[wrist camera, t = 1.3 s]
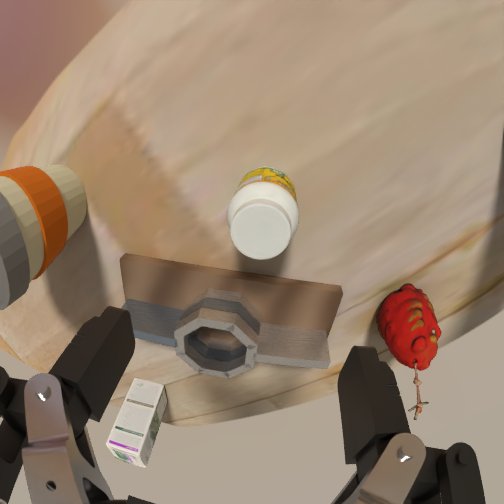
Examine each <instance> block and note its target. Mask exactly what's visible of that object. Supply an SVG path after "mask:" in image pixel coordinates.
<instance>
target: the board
mask: <svg viewBox="0 0 504 504" xmlns="http://www.w3.org/2000/svg"><path fill="white" fill-rule="evenodd" d="M120 267H121V274H122V281H123V288H124V295H125V301H127V299H128V298H130V299H134V300H139V301H143V302H148V303H153V304H157V305H162V306H167V307H172V308H177V309H183V310H184V309H185V307H186V304H187V302H189V301H191V300H192V299H194V298H195V297H197V296H198V295H200V294H201V293H203V292H204V291H206V290H207V289H209V288H210V289H216V290H222V291H228V292H235V293H241V294H242V295H243V296H244V297H245V298H246V299H247V300H248V301H249V302H250V303H251V304H252V305H253V306H254V307H255V308H256V310H257V311H258V312H259V313H260V314H261V323H268V324H275V325H283V326H291V327H299V328H307V329H316V330H326V334H327V338H328V335H329V332H330V330H331V327H332V324H333V321H334V319H335V316H336V313H337V310H338V307H339V304H340V301H341V298H342V295H343V292H342V288H341V286H338V285H330V284H323V283H315V282H308V281H300V280H293V279H286V278H279V277H272V276H265V275H258V274H251V273H245V272H238V271H231V270H225V269H218V268H212V267H205V266H199V265H193V264H186V263H180V262H174V261H168V260H162V259H156V258H150V257H144V256H138V255H132V254H126V253H125V254H124V255H123V256H122V257H121V258H120ZM199 328H200V329H201V330H202V331H204V332H205V333H206V334H207V335H208V336H209V337H210V338H212V339H218V340H224V341H230V342H233V341H235V340H237V339H238V338H236V337H235V336H234V335H233V334H232V333H231V332H230V331H227V330H221V329H215V328H209V327H204V326H201V327H199Z"/></svg>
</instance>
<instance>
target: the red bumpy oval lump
mask: <svg viewBox="0 0 504 504" xmlns="http://www.w3.org/2000/svg"><path fill="white" fill-rule="evenodd" d="M377 324H378V330H379V333H380V335H381V337H382V338H383V339H384V340H385V342H386V344H387V346H388V348H389V350H390V352H391V353H392V354H393V355H394V357H395V358H396V360H397V361H398V362H400V363H401V364H403V365H405V366H408V367H410V368H414V369H415V376H416V377H415V378H414V381H413V382H414V384H416V385H417V405H416V406H414V407H413V408H411V409H410V410H408V411H412V410H413V409H414V408H416V413H415V417H414V420H416V419H417V415H418V413H421V411H422V405H423V404H428V402H423V403H422V402H421V400H420V394H419V385H420V384H421V381H420V380H418V375H417V369H418V370H420V371H421V370H424V369H426V368H428V367H429V365H430V362H431V360H432V359H433V358H434V357H435V356H436V354H437V349H438V345H437V340H438V338H439V337H440V335H441V330H440V328H439V326H438V325H437V319H436V317H435V314H434V309H433V306H432V304H431V302H430V301H429V299H428V297H427V295H426V294H424V293H423V292H422V290H421V289H416V288H415V287H414V286H413V285H412V284H404V285H403V286H402V288H401V290H400V291H394V292H392V293H391V294H390V295H389V296H388V297H387V298H386V299H385V300H384V302H383V304H382V306H381V309H380V313H379V314H378V316H377Z"/></svg>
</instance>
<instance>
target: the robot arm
mask: <svg viewBox="0 0 504 504" xmlns="http://www.w3.org/2000/svg"><path fill="white" fill-rule="evenodd" d="M134 349H135V337H134V332H133V327H132V322H131V316H130V313H129V311H128V310H124V309H120V308H116V307H112V306H109V307H107V308H106V309H105V311H104V312H103V313H102V315H101V316H100V317H96V316H95V317H93V318H92V319H90V320H89V321H87V322H86V323H84V325H83V326H82V327H81V328H80V330H79V331H78V332H77V335H75V336H74V338H73V339H72V341H71V343H69V345H68V346H67V347H66V349H65V350H64V352H63V353H62V354H61V356H60V357H59V359H58V360H57V361H56V363H55V364H54V366H53V367H52V369H51V370H50V371H49V373H40V374H37V375H35V376H33V377H32V378H30V379H29V380H21V379H15V378H10V377H9V375H8V374H7V372H6V371H5V369H4V368H2V367H0V417H2V418H3V421H2V423H1V425H0V504H8V502H9V499H10V496H11V493H12V490H13V488H14V485H15V482H16V480H17V477H18V475H19V472H20V470H21V467H22V465H24V470H25V475H26V480H27V485H28V489H29V493H30V497H31V501H32V504H154V503H151V502H148V501H145V500H141V499H138V498H135V497H132V496H130V495H129V496H128V500H114V498H113V496H112V493H111V491H110V488H109V486H108V484H107V482H106V481H105V479H104V477H103V476H102V474H101V472H100V470H99V467H98V464H97V461H96V458H95V455H94V451H93V448H92V445H91V441H90V438H89V434H88V431H87V427H86V423H87V421H88V419H89V418H90V419H92V420H95V421H97V422H100V419H101V417H102V415H103V413H104V411H105V409H106V407H107V405H108V403H109V401H110V399H111V397H112V395H113V393H114V391H115V389H116V387H117V385H118V383H119V381H120V379H121V377H122V375H123V373H124V371H125V369H126V367H127V365H128V363H129V361H130V360H131V358H132V356H133V353H134ZM338 395H339V403H340V411H341V420H342V429H343V438H344V450H345V461H346V464H356V466H357V471H356V472H355V473H354V474H353V476H352V477H351V479H350V480H349V481H348V483H347V484H346V485H345V487H344V488H343V489H342V490H341V492H340V493H339V494H338V496H337V497H336V498H335V499H334V500H333V502H332V503H331V504H485V497H484V491H483V486H482V480H481V475H480V471H479V466H478V462H477V458H476V454H475V452H474V450H473V449H472V447H471V446H469V445H468V444H466V443H461V442H460V443H455V444H453V445H452V446H451V447H450V448H449V449H447V450H443V449H437V448H431V447H426V446H425V445H424V443H423V442H422V441H421V440H420V439H419V438H418V437H417V436H415V435H413V434H411V432H410V429H409V425H408V421H407V417H406V413H405V410H404V406H403V403H402V399H401V396H400V392H399V389H398V386H397V382H396V379H395V375H394V372H393V371H392V370H391V368H390V367H389V366H388V365H387V363H386V362H380V361H379V358H378V355H377V351H376V349H375V348H374V347H365V346H353V347H352V349H351V351H350V353H349V355H348V357H347V359H346V362H345V364H344V366H343V368H342V370H341V372H340V374H339V378H338ZM440 493H441V495H440ZM441 501H442V503H441Z"/></svg>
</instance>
